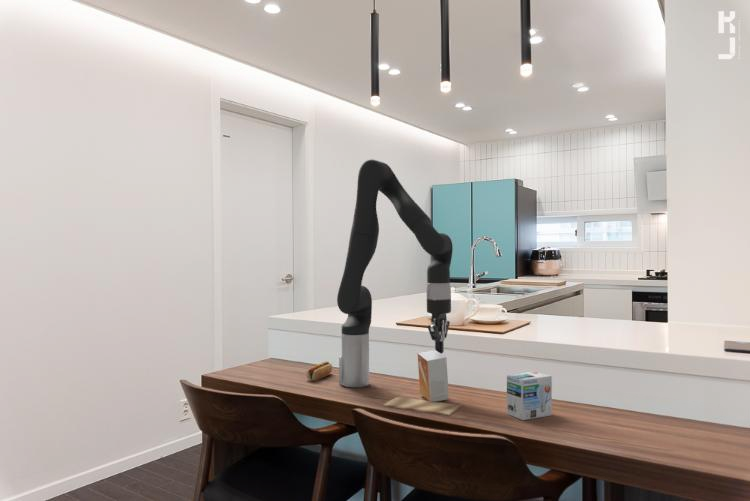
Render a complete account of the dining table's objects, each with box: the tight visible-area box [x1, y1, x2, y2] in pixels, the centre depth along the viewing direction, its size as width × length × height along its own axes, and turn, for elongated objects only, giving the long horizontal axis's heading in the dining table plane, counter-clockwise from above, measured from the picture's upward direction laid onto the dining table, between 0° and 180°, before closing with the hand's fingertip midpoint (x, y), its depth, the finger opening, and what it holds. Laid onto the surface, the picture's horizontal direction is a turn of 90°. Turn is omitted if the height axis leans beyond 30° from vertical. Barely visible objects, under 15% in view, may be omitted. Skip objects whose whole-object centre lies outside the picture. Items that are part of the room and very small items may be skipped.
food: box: [305, 361, 333, 382], centre depth 189 cm, size 14×6×5 cm, turn 159°
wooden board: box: [383, 396, 461, 416], centre depth 153 cm, size 20×9×1 cm, turn 62°
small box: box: [417, 349, 450, 402], centre depth 160 cm, size 8×6×13 cm
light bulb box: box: [506, 371, 553, 421], centre depth 145 cm, size 11×7×11 cm, turn 117°
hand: (439, 353), depth 165 cm, fingers closed
